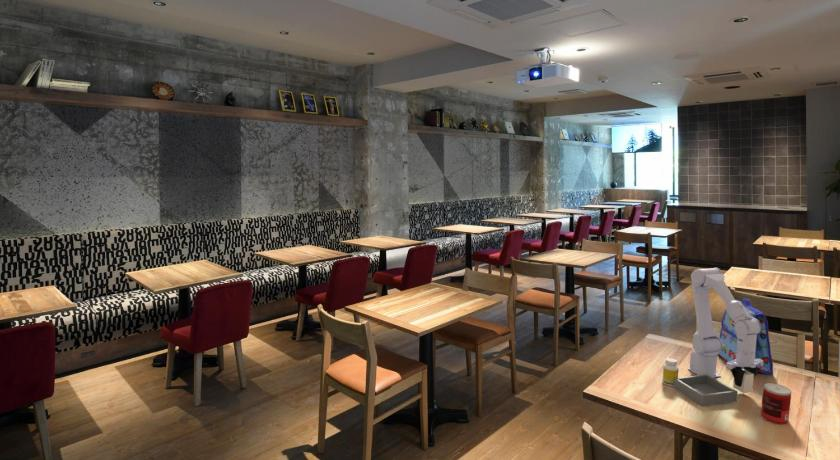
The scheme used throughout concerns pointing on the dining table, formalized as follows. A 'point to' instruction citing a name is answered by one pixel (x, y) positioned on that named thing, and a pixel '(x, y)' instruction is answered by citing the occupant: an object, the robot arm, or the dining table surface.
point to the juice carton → (746, 382)
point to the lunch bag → (762, 340)
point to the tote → (705, 390)
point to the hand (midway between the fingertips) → (743, 384)
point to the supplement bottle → (670, 371)
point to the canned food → (776, 403)
